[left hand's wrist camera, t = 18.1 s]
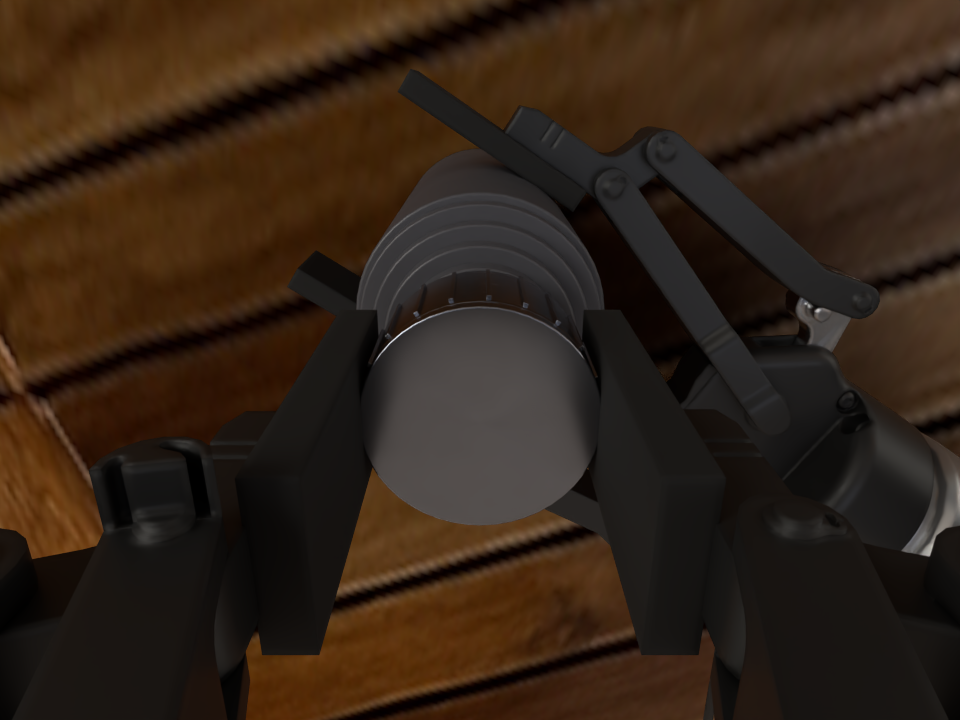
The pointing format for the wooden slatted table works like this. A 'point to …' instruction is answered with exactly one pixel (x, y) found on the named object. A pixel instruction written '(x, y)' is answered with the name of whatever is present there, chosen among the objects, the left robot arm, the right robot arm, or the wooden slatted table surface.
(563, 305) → the bottle
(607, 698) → the wooden slatted table surface
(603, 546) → the wooden slatted table surface
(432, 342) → the cap
